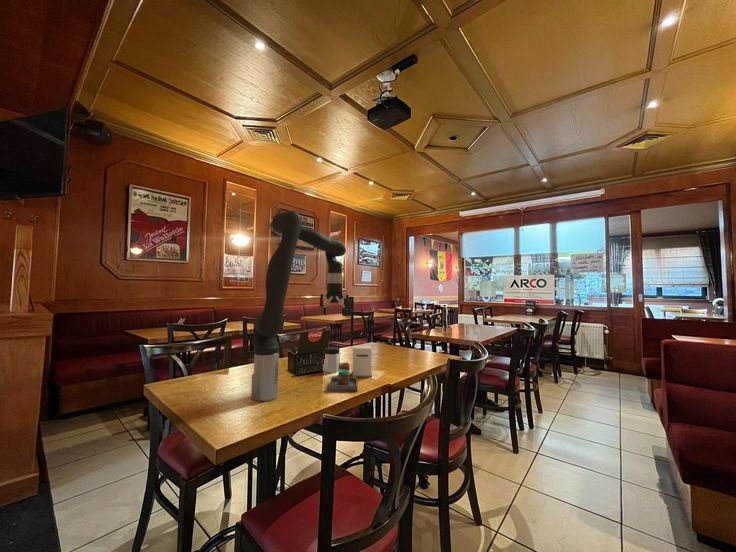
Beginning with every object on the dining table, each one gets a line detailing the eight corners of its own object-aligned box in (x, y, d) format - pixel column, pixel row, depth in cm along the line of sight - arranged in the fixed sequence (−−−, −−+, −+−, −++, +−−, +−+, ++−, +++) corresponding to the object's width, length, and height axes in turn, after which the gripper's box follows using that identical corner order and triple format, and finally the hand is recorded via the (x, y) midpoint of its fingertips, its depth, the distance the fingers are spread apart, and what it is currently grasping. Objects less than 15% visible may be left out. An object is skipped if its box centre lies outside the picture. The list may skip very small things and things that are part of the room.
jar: (342, 371, 158) (343, 348, 158) (329, 374, 153) (329, 350, 153) (333, 368, 165) (333, 345, 165) (320, 370, 160) (320, 347, 160)
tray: (328, 391, 126) (328, 385, 126) (331, 383, 138) (331, 377, 138) (357, 391, 126) (357, 385, 126) (357, 383, 138) (357, 377, 138)
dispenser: (351, 377, 147) (352, 348, 148) (352, 373, 155) (352, 345, 156) (372, 377, 147) (372, 348, 148) (371, 373, 155) (371, 345, 156)
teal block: (338, 386, 130) (338, 372, 130) (338, 383, 134) (339, 369, 134) (348, 386, 130) (348, 372, 130) (349, 383, 134) (349, 369, 135)
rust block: (340, 377, 147) (340, 365, 147) (338, 375, 151) (338, 362, 152) (349, 376, 148) (349, 364, 149) (347, 374, 153) (347, 362, 153)
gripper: (319, 282, 145) (318, 315, 144) (348, 282, 146) (348, 316, 145) (321, 282, 153) (320, 314, 152) (349, 283, 153) (349, 315, 152)
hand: (334, 315), depth 148 cm, fingers open, 8 cm apart
